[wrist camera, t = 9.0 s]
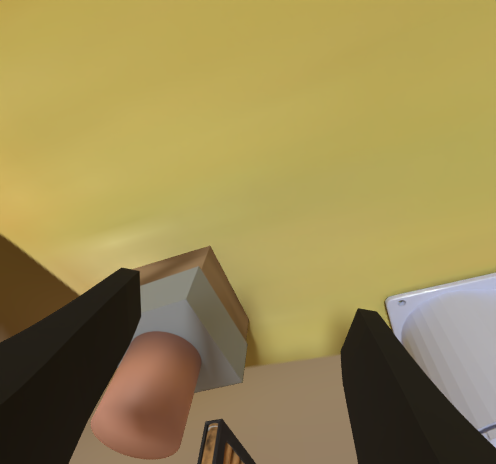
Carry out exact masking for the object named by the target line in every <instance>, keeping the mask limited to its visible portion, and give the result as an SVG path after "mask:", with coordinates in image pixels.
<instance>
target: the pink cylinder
mask: <svg viewBox="0 0 496 464" xmlns="http://www.w3.org/2000/svg"><path fill="white" fill-rule="evenodd" d="M200 368H201V357H200V354H199V352H198V351H197V349H196V348H195V347H194V346H193V345H192V344H191V343H190V342H188V341H187V340H185V339H184V338H182V337H180V336H177V335H175V334H172V333H168V332H161V331H152V332H146V333H143V334H140V335H139V336H137V337H136V338H134V339H133V341H132V342H131V344H130V346H129V348H128V350H127V352H126V353H125V355H124V357H123V359H122V361H121V363H120V365H119V367H118V369H117V371H116V373H115V375H114V377H113V379H112V381H111V383H110V385H109V387H108V388H107V390H106V393H105V394H104V396H103V398H102V400H101V402H100V404H99V406H98V408H97V410H96V412H95V414H94V416H93V418H92V420H91V428H92V431H93V433H94V435H95V436H96V437H97V438H98V439H99V440H100V441H101V442H102V443H103V444H104V445H106V446H107V447H109V448H111V449H112V450H114V451H117V452H119V453H121V454H124V455H127V456H130V457H134V458H140V459H161V458H166V457H169V456H171V455H173V454H174V453H176V451H178V449H179V448H180V445H181V441H182V437H183V433H184V430H185V426H186V422H187V418H188V414H189V410H190V407H191V403H192V399H193V395H194V391H195V387H196V384H197V380H198V376H199V372H200Z"/></svg>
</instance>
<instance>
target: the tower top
mask: <svg viewBox="0 0 496 464" xmlns="http://www.w3.org/2000/svg"><path fill="white" fill-rule="evenodd" d="M140 294H141V319H140V321H139V324H138V326H137V329H136V331H135V334H134V336H133V339H134V338H136V337H137V336H139V335H140V334H143V333H146V332H152V331H161V332H168V333H172V334H175V335H177V336H180V337H182V338H184V339H185V340H187V341H188V342H190V343H191V344H192V345H193V346H194V347H195V348H196V349H197V351H198V352H199V354H200V357H201V368H200V372H199V376H198V380H197V384H196V387H195V391H194V393H196V392H200V391H205V390H210V389H214V388H219V387H224V386H228V385H233V384H237V383H242V382H243V375H244V368H245V360H246V352H247V342H246V341H245V339H244V338H243V336H242V334H241V333H240V331H239V330H238V328H237V326H236V325H235V323H234V322H233V320H232V318H231V317H230V315H229V314H228V312H227V310H226V309H225V307H224V306H223V304H222V302H221V301H220V299H219V298H218V296H217V294H216V293H215V291H214V289H213V288H212V286H211V285H210V283H209V281H208V280H207V278H206V277H205V275H204V273H203V272H202V270H201V269H200V267H199V266H198V267H195V268H192V269H189V270H186V271H183V272H180V273H177V274H174V275H171V276H168V277H165V278H162V279H159V280H156V281H153V282H150V283H148V284H145V285H142V286H140ZM133 339H132V341H133ZM132 341H131V342H132ZM130 344H131V343H130ZM129 346H130V345H129ZM128 348H129V347H128ZM127 350H128V349H127ZM126 352H127V351H126ZM124 355H125V354H124ZM123 357H124V356H123ZM122 359H123V358H122ZM121 361H122V360H121ZM120 363H121V362H120ZM120 363H119V365H120ZM119 365H118V367H119ZM118 367H117V368H118Z"/></svg>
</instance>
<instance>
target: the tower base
mask: <svg viewBox="0 0 496 464" xmlns="http://www.w3.org/2000/svg"><path fill="white" fill-rule="evenodd" d="M198 266H199V267H200V269H201V270H202V272H203V273H204V275H205V277H206V278H207V280H208V281H209V283H210V285H211V286H212V288H213V289H214V291H215V293H216V294H217V296H218V298H219V299H220V301H221V302H222V304H223V306H224V307H225V309H226V310H227V312H228V314H229V315H230V317H231V318H232V320H233V322H234V323H235V325H236V326H237V328H238V330H239V331H240V333H241V334H242V336H243V338H244V339H245V341H246V337H247V330H248V323H249V319H248V317H247V315H246V313H245V311H244V309H243V307H242V306H241V304H240V302H239V300H238V298H237V296H236V294H235V292H234V290H233V288H232V286H231V284H230V283H229V281H228V279H227V277H226V275H225V273H224V271H223V269H222V267H221V265H220V263H219V262H218V260H217V258H216V256H215V254H214V252H213V250H212V248H211V246H208V247H204V248H201V249H198V250H194V251H191V252H188V253H184V254H181V255H178V256H175V257H171V258H168V259H165V260H161V261H158V262H155V263H151V264H148V265H145V266H142V267H138V268H135V269H132V270H137V271H140V286H142V285H145V284H148V283H150V282H153V281H156V280H159V279H162V278H165V277H168V276H171V275H174V274H177V273H180V272H183V271H186V270H189V269H192V268H195V267H198Z"/></svg>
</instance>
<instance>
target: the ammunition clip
mask: <svg viewBox="0 0 496 464" xmlns="http://www.w3.org/2000/svg"><path fill="white" fill-rule="evenodd" d="M197 464H256V463H255V462H254V460H253V459H252V458H251V456H250V455H249V454H248V453H247V451H246V450H245V448H244V447H243V446H242V444H241V443H240V442H239V440H238V439H237V438H236V436H235V435H234V434H233V432H232V431H231V430H230V429H229V427H228V426H227V424H226V423H225V422H224V420H223V419H219V420H212V421H206V422H205V427H204V432H203V437H202V442H201V448H200V453H199V458H198V463H197Z"/></svg>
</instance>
